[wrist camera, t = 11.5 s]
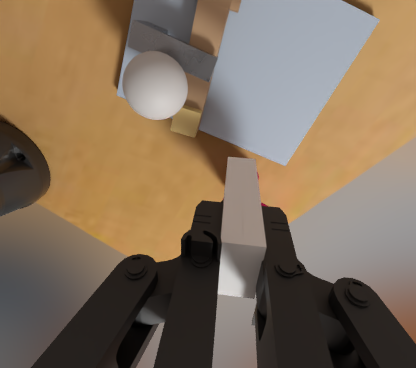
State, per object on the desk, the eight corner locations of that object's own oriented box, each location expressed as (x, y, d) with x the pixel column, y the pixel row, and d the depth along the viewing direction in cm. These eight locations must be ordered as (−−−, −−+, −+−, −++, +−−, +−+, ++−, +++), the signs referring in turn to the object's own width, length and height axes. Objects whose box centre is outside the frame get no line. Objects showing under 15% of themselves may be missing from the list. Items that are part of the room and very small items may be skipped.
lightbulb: (164, 31, 28) (127, 38, 19) (209, 64, 30) (193, 86, 21) (142, 78, 32) (101, 103, 22) (183, 106, 33) (160, 141, 24)
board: (120, 93, 33) (95, 105, 27) (155, -91, 24) (129, -129, 18) (284, 162, 35) (292, 186, 30) (374, 20, 26) (411, 17, 20)
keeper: (145, 43, 30) (127, 46, 25) (150, 21, 28) (132, 19, 24) (213, 74, 31) (208, 82, 26) (221, 53, 29) (217, 58, 25)
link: (204, -64, 23) (199, -79, 20) (254, -48, 23) (256, -60, 20) (170, 119, 32) (162, 128, 29) (205, 129, 33) (202, 140, 30)
